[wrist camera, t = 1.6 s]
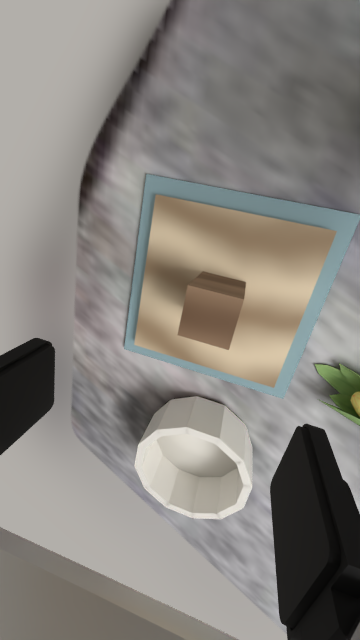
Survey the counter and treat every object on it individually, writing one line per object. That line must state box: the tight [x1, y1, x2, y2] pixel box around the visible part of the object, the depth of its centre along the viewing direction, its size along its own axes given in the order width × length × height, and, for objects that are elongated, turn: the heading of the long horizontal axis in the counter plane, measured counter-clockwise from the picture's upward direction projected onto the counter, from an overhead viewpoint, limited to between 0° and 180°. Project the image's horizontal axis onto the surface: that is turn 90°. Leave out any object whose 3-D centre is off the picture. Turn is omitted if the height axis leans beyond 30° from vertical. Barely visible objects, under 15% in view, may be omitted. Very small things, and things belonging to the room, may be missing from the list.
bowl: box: [135, 396, 252, 519], centre depth 30 cm, size 12×12×6 cm
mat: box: [124, 174, 360, 399], centre depth 26 cm, size 18×18×1 cm
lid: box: [134, 194, 337, 388], centre depth 22 cm, size 15×15×7 cm
